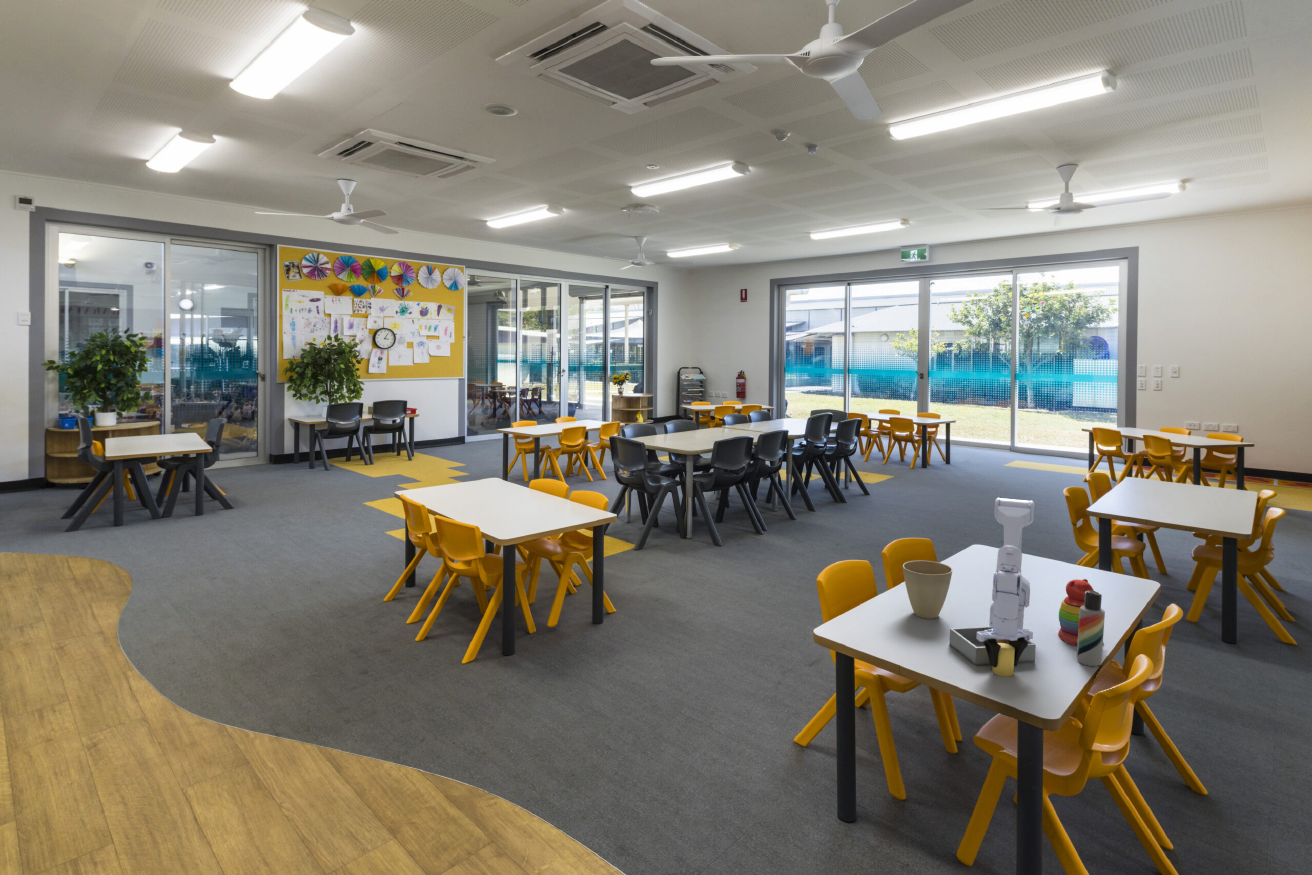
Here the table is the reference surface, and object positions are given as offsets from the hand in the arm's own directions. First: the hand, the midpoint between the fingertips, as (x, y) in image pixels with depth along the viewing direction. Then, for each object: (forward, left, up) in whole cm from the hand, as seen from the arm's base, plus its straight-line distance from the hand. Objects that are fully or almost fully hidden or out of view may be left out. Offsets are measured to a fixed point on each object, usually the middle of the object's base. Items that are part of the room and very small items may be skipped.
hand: (1003, 665), depth 177 cm
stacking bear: (-17, +34, -2) cm, 39 cm away
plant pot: (-41, 0, -2) cm, 41 cm away
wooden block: (-11, +6, -1) cm, 12 cm away
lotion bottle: (-3, +27, -2) cm, 27 cm away
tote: (-11, +4, -2) cm, 12 cm away
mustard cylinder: (0, 0, -2) cm, 2 cm away
